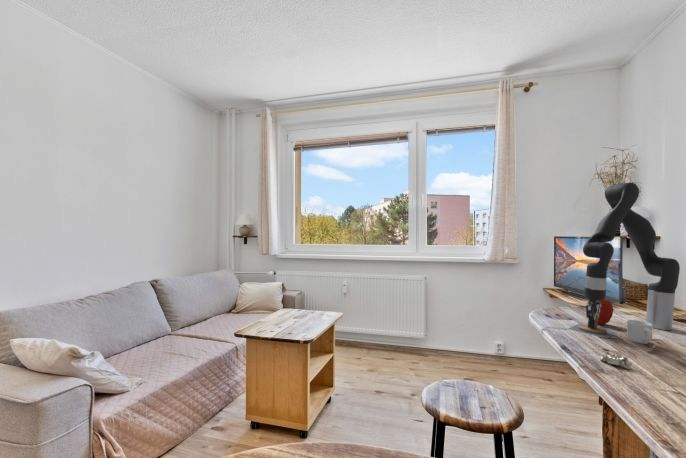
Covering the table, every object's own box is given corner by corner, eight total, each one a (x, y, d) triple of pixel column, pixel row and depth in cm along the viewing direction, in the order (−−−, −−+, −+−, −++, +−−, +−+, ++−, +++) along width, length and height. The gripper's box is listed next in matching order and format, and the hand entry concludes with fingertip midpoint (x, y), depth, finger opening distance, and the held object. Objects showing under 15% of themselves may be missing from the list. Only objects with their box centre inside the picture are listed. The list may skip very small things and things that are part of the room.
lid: (582, 325, 154) (583, 312, 153) (609, 331, 146) (610, 317, 146) (575, 329, 147) (576, 315, 147) (603, 336, 139) (604, 321, 139)
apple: (612, 329, 152) (615, 298, 152) (585, 324, 158) (587, 294, 158) (611, 324, 161) (613, 295, 160) (585, 319, 167) (587, 291, 166)
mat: (578, 324, 157) (579, 323, 157) (616, 333, 146) (616, 332, 146) (567, 329, 147) (567, 328, 147) (607, 339, 136) (607, 338, 136)
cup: (662, 349, 128) (663, 328, 128) (637, 346, 130) (639, 326, 129) (642, 339, 138) (644, 320, 138) (620, 337, 140) (622, 318, 140)
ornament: (634, 367, 109) (635, 356, 109) (626, 371, 105) (627, 360, 105) (605, 358, 116) (606, 348, 116) (596, 362, 112) (597, 351, 112)
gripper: (590, 284, 153) (587, 322, 154) (579, 287, 145) (576, 326, 145) (610, 287, 148) (607, 326, 148) (601, 290, 139) (598, 332, 139)
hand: (592, 326), depth 146 cm, fingers closed on lid, 3 cm apart
